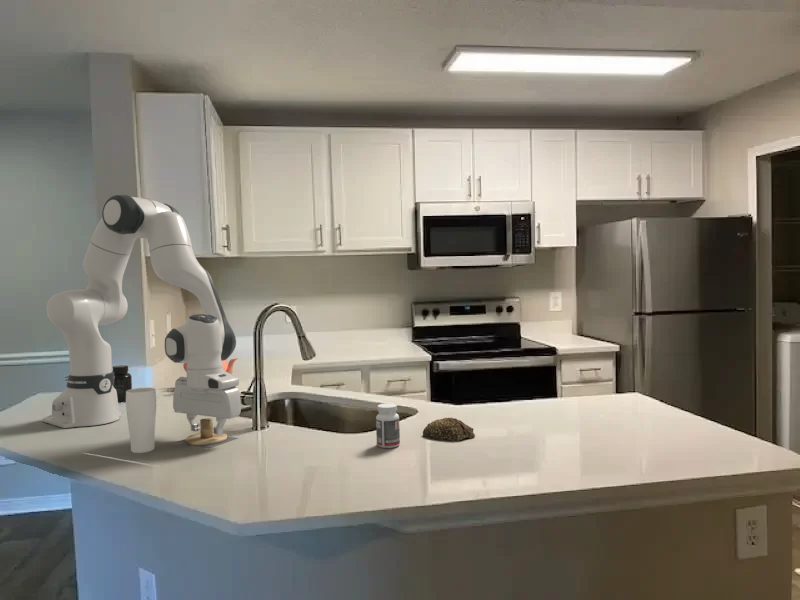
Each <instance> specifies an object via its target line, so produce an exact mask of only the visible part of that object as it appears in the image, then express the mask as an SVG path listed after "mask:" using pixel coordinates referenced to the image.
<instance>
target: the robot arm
mask: <svg viewBox="0 0 800 600" xmlns="http://www.w3.org/2000/svg"><path fill="white" fill-rule="evenodd" d="M101 215H102V217H101V218H100V220H99V221H98V223H97V225H96V228H95V229H94V231H93V233H92V236H91V239H90V241H89V244H88V247H87V250H86V253H85V256H84V259H83V261H82V269H83V271H84V272H85V273H86V275H87V276H88V284H87V286H86V288H84V289H81V288H80V289H68V290H64V291H61V292H58V293H56V294H54V295H52V296H51V297H50V298H49V299H48V300H47V304H46V307H45V308H46V315H47V318H48V319H49V322H50V323H51V324H52V325H54V326H55V327H57V328H58V329H59V331H60V333H62V336H63V338H64V339H65V342H66V345H67V349H68V357H69V358H68V359H69V371H70V372H69V373H70V374H69V375H68V376H65V377H64V379H65V380H64V381H66V386H65V387H66V388H65V389H64V390H63V391H62V392H61V393H60V394H59V395H58V396H56V397H55V399H53V401H52V403H51V414H50V415H47V416H44V417H43V419H42V422H43V423H48V424H49V425H53V426H56V427H59V428H62V429H67V428H69V429H70V428H75V427H77V428H78V427H88V426H89V427H90V426H98V425H99V426H100V425H104V424H109V423H112V422H116V421H118V420H120V418H121V416H122V415H123V412H122V411H121V410H120V408H119V403H118V399H117V392H116V389H115V388H114V387H113V384H114V372H113V363H112V361H113V359H112V358H113V357H112V355H113V354H112V347H111V344H110V343H109V342H107V341H106V340H104V338H103V337H102V336H101V333H100V330H99V326H104V325H111V324H113V323H116V322H117V321H120V320H122V319H124V317H125V316H126V315H127V312H128V307H129V306H128V305H129V304H128V300H127V298H126V296H125V294H124V293H123V279H124V274H125V272H126V268H127V265H128V263H129V259H130V257H131V254H132V251H133V248H134V245H135V242H136V241H137V239H146V240H147V243H148V252H149V257H150V264H151V266H152V269H153V272H154V273H155V275H156V276H157V277H158V278H159V279H161V280H162V281H163V282H165V283H167V284H168V285H172V286H175V287H178V288H181V289H184V290H186V291H188V292H190V293H192V294H193V295H194V296H195V297H196V298H197V299H198V301H199V303H200V306H201V309H202V311H203V314H202V313H201V314H199V313H198V314H193V315H190V316H188V317H187V318H186V321H185V323H183V324H182V325H180V326H178V327H175V328H172V329H171V330H169V332H168V333H167V334H166V337H164V352H165V355H166V357H167V358H168V359H169V360H170V361H172V362H173V363H175V364H184V363H187V372H186V376H179V377H178V378H177V379H176V380H175V382H174V386H175V387H174V390H173V396H172V397H173V399H172V408H173V410H174V413H180V414H186V419H187V421H188V423H189V425H190V431H191V432H199V431H200V422H199V423H198V420H197V418H196V417H198V416H204V417H209V418H215V421H216V422H217V424H216V426H215V427H214V426H213V432H214V434H216V435H220V434H222V433H224V426H225V423H226V421H227V420H231V419H235V418H238V417H239V416H240V414H241V410H242V404H241V403H242V402H241V391H240V390H239V388H238V387H237V386H239V384H240V379H239V378H238V377H237V376H235V375H233V374H232V375H231V374H230V373H228V372H226V371H224V370H223V364H222V361H224V360H226V361H227V359H229V357H230V356H232V354H233V353H234V351H235V349H236V345H237V338H236V335H235V332H234V330H233V329H232V327H231V324H229V323H230V322H229V321H228V318H227V316H226V314H225V313H226V312H225V311H224V308H223V305H222V302H221V300H220V297H219V294H218V291H217V288H216V286H215V284H214V281H213V278H212V276H211V274H210V273H209V271H208V270H207V269H205V268H204V267H203V266H202V265H201V264H200V262H199V261H198V259H197V257H196V256H195V252H194V250H193V249H194V248H193V245H192V240H191V236H190V233H189V230H188V227H187V224H186V221H185V219H184V217H182V215H180V212H179V211H178V210H177V209H176V208H175V207H173V206H171V205H170V204H168V203H162V202H160V201H156V200H154V199H150V198H142V197H137V196H136V197H135V196H130V195H127V194H116V195H112V196H110V197H109V198H108V199H106V201H105V204H104V206H103V208H102V214H101Z"/></svg>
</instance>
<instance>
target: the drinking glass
mask: <svg viewBox="0 0 800 600" xmlns="http://www.w3.org/2000/svg"><path fill="white" fill-rule="evenodd" d="M125 408H126V409H125V410H126V419H127V425H128V434H129V441H130V442H129V443H130V452H131V453H134V454H143V453H149V452H152V451H154V450H155V444H156V443H155V439H156V438H155V436H156V435H155V433H156V418H157V391H156V388H154V387H138V388H132V389H130V390H127V391H126V402H125Z"/></svg>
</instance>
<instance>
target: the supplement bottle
mask: <svg viewBox="0 0 800 600" xmlns="http://www.w3.org/2000/svg"><path fill="white" fill-rule="evenodd" d="M112 371H113V372H114V384H113V387H114V388H115V389H116V392H117V399H118V404H119V403H120V404H122V403H121V402H123V403H126V391H127V390H130V389H133V379H132V377H133V376H132V374H130V372H129V366H128V365H126V364H122V365H121V364H120V365H115V366H114V365H112Z"/></svg>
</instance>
